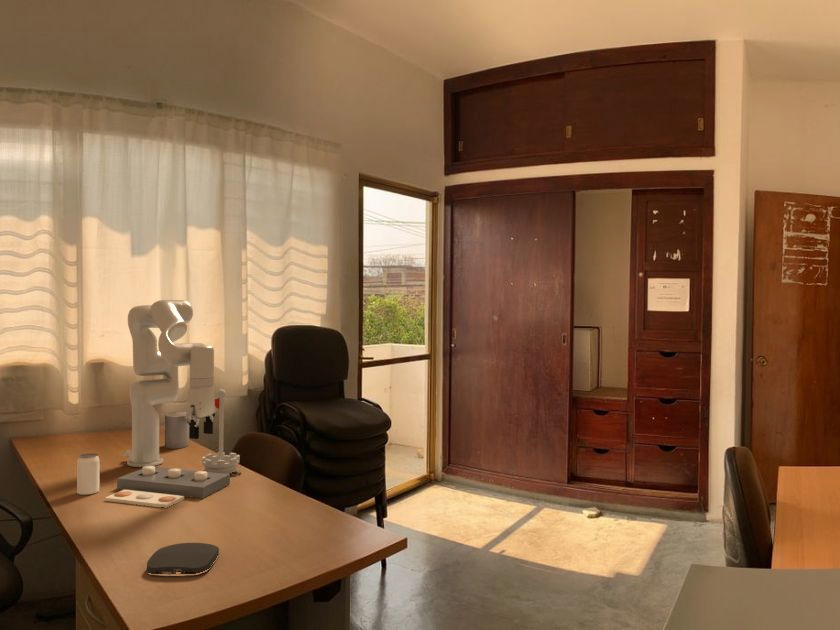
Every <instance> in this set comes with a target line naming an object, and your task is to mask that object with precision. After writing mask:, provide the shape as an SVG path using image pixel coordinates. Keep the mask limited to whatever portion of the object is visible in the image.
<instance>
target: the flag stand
mask: <svg viewBox="0 0 840 630" xmlns="http://www.w3.org/2000/svg"><path fill="white" fill-rule="evenodd" d="M226 395H227V392H226V390H225V389H222V388H221V389H219V390H218V391H217V396H218V397H217V398H215V407H216V408H217V409H218V411H219V417H218V418H219V419H218V420H219V421H218V423H219V425H218V452H217V455H213V453H208V454H205V456H202V458H201V459H202V460H201V461H202V462H201V464H202V466H203V467H204V469H205V470H204V471H206V472H212V473H222V474H228V473H231V474H233V473H232V472H234V473H236V472H237V465H239V464H240V459H241V458H240V456H241V455H240V454H237V453H235V452H229V454H228V455H227V454H226V455H225V452H224V422H225V421H224V420H225V419H224V416H225V415H224V413H225V411H224V410H225V405H224V404H225V399H224V398H225V397H226ZM235 471H236V472H235Z"/></svg>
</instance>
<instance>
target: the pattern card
mask: <svg viewBox="0 0 840 630" xmlns="http://www.w3.org/2000/svg"><path fill="white" fill-rule="evenodd" d="M184 500H185V496H179V495H170V494H161V493H152V492H143V491H134V490H123V489H121V490H120V491H118V492H114V493H113V494H110V495H107V496H105V497H104V501H105V502H109V503H110V502H113V503H121V504H127V505H136V504H137V505H138V506H144V505H145V506H146V507H153V508H161V507H164V508H163V509H168V508H170V507H171V505H172V506H174V505H175V504H177V503H180V502H182V501H184ZM173 504H174V505H173ZM145 506H144V507H145ZM169 506H170V507H169ZM167 507H168V508H167Z"/></svg>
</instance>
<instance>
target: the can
mask: <svg viewBox="0 0 840 630" xmlns="http://www.w3.org/2000/svg"><path fill="white" fill-rule="evenodd" d="M99 491H100V457H99V454H98V453H91V452H90V453H83V454H80V455H78V458H77V461H76V494H78V495H79V496H91V495H95V494H97V493H98V492H99Z"/></svg>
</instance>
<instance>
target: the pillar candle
mask: <svg viewBox="0 0 840 630" xmlns="http://www.w3.org/2000/svg"><path fill="white" fill-rule="evenodd" d="M185 416H186V411H172V412H167V413H165V414H164V448H166V449H182V448H187V447H189V445H190V438H189V426H188V423H187V420H186V418H185Z"/></svg>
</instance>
